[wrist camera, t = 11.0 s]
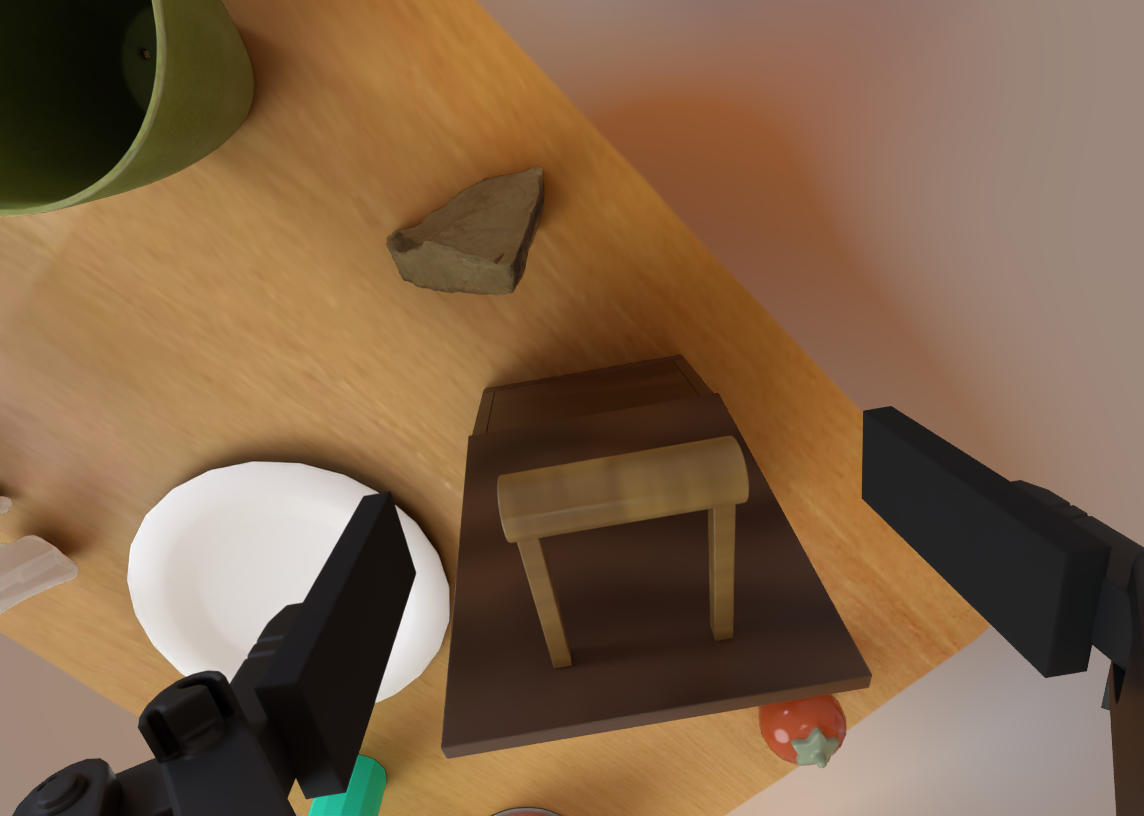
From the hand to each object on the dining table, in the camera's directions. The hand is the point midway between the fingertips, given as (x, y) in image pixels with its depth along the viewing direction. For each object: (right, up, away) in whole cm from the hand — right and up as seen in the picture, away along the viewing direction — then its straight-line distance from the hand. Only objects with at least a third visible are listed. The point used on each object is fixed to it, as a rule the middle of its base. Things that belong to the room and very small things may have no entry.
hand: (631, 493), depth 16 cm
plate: (-24, -13, +33) cm, 42 cm away
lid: (0, -4, +11) cm, 12 cm away
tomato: (+18, -24, +39) cm, 50 cm away
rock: (-9, +15, +23) cm, 29 cm away
